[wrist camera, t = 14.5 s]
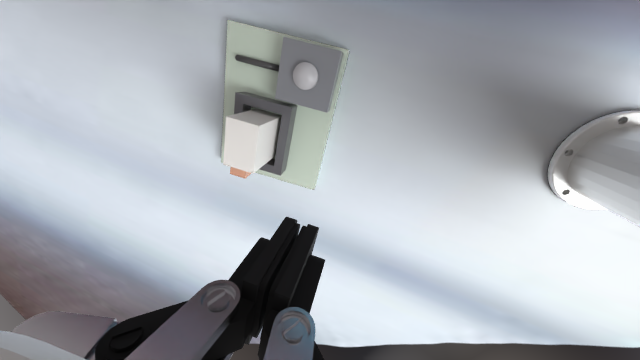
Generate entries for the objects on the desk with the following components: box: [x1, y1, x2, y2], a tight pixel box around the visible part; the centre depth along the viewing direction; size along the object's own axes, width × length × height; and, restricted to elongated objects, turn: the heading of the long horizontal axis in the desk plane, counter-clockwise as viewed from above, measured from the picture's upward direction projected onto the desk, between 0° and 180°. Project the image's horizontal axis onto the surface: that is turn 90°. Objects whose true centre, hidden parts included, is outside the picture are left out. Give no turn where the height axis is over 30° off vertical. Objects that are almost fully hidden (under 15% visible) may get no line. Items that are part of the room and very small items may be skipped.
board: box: [221, 20, 350, 190], centre depth 32 cm, size 16×20×5 cm
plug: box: [223, 109, 282, 178], centre depth 31 cm, size 4×7×8 cm, turn 166°
